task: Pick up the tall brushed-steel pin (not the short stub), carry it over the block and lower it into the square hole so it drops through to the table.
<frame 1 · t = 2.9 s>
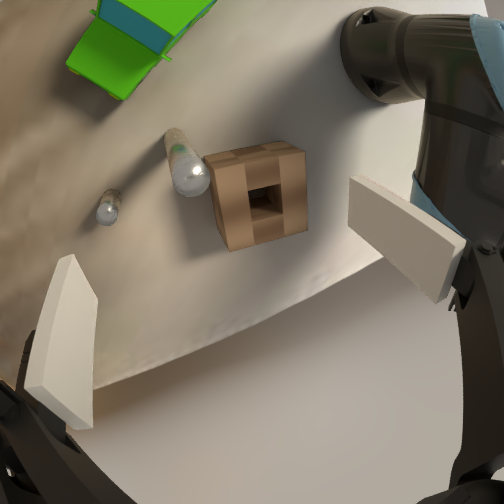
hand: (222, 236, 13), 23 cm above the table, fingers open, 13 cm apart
hole block: (249, 185, 37), on the table
toy car: (138, 37, 23), on the table
long pin: (174, 138, 30), on the table
short pin: (111, 198, 32), on the table
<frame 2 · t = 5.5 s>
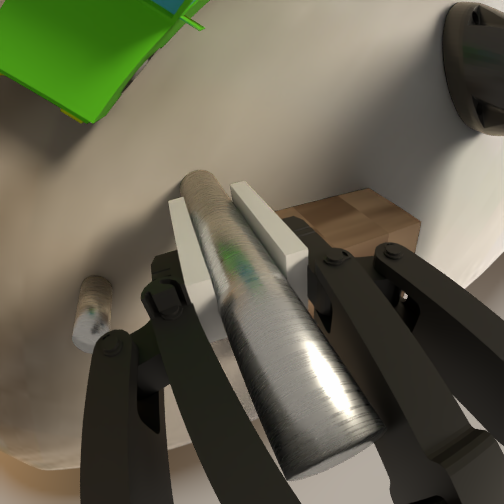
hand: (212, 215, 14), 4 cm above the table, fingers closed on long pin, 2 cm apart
hole block: (316, 256, 24), on the table
long pin: (199, 188, 18), on the table, touching gripper
short pin: (96, 289, 19), on the table
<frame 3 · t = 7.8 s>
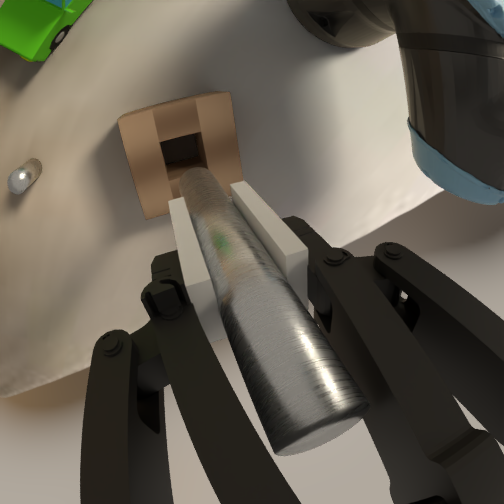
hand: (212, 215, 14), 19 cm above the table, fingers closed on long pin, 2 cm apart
hole block: (178, 144, 29), on the table
toy car: (60, 2, 16), on the table
long pin: (197, 185, 18), point 14 cm above the table, touching gripper
short pin: (33, 168, 24), on the table
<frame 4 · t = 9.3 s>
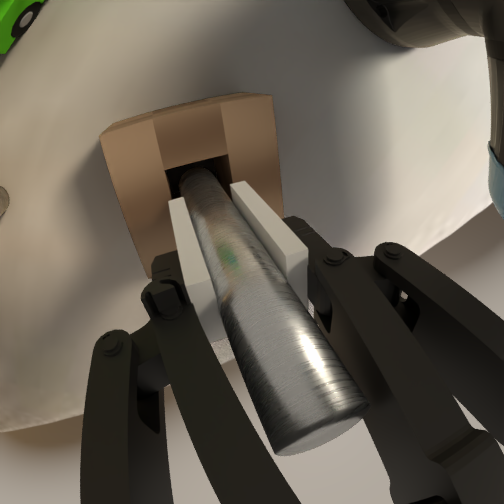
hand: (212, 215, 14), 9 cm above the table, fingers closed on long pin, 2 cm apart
hole block: (190, 165, 22), on the table
long pin: (197, 185, 18), point 5 cm above the table, touching gripper
when the fingers open (8 cm above the table, at t = 10.2 s): long pin drops 3 cm, resting in hole block.
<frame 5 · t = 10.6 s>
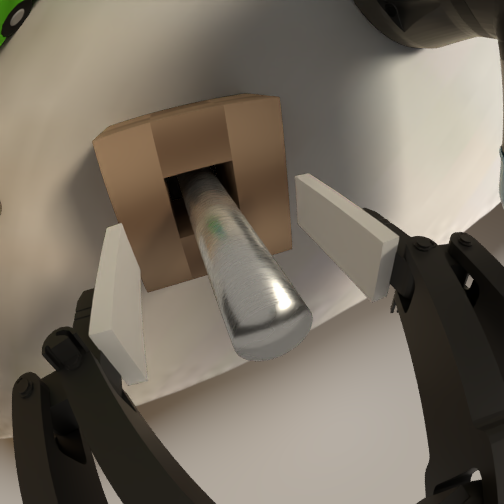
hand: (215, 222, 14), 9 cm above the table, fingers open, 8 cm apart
hole block: (190, 171, 21), on the table
long pin: (192, 170, 21), resting in hole block
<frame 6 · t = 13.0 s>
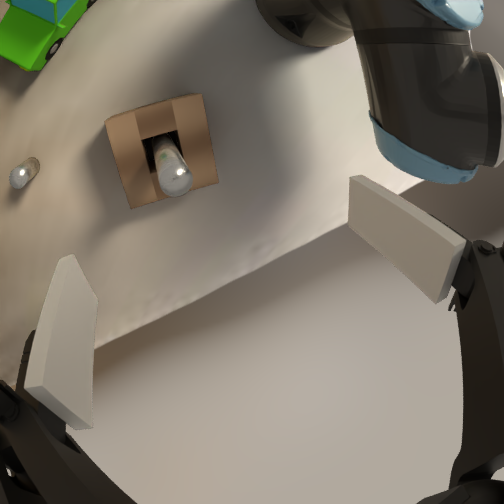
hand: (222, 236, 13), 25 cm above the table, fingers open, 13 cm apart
hole block: (160, 142, 32), on the table
toy car: (53, 16, 18), on the table
long pin: (161, 141, 32), resting in hole block
short pin: (32, 166, 27), on the table
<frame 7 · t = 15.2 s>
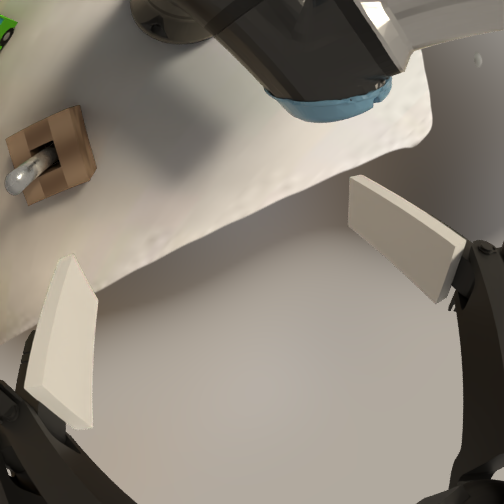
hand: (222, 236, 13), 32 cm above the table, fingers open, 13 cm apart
hole block: (58, 148, 33), on the table
long pin: (58, 148, 33), resting in hole block
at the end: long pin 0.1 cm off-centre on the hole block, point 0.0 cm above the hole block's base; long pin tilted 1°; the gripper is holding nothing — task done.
